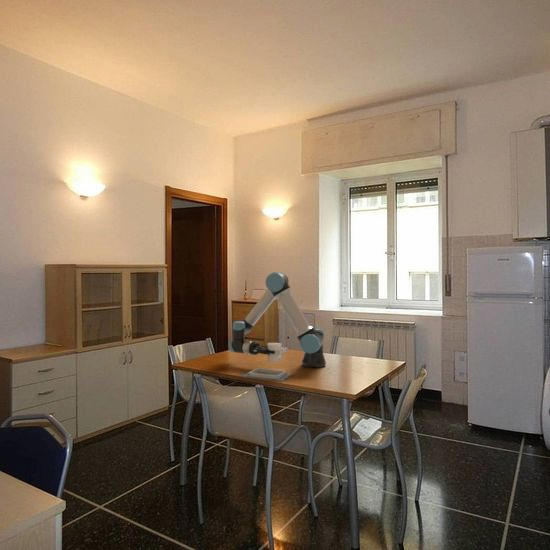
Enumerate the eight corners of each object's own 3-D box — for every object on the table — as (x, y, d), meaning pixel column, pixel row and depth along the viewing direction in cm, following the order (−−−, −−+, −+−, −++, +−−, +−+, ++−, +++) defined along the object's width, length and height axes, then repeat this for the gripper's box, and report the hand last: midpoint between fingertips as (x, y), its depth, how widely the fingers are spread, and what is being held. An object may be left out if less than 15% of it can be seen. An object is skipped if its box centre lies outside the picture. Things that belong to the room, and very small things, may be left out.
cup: (273, 358, 272) (274, 342, 272) (288, 361, 264) (288, 344, 264) (264, 360, 266) (264, 343, 266) (279, 363, 258) (279, 346, 258)
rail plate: (292, 374, 255) (292, 370, 255) (281, 382, 238) (282, 377, 238) (253, 370, 263) (253, 366, 263) (241, 377, 246) (241, 373, 246)
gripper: (260, 351, 284) (292, 355, 272) (241, 356, 265) (274, 360, 254) (260, 339, 284) (292, 342, 272) (241, 344, 265) (274, 347, 254)
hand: (283, 351), depth 263 cm, fingers closed on cup, 8 cm apart
